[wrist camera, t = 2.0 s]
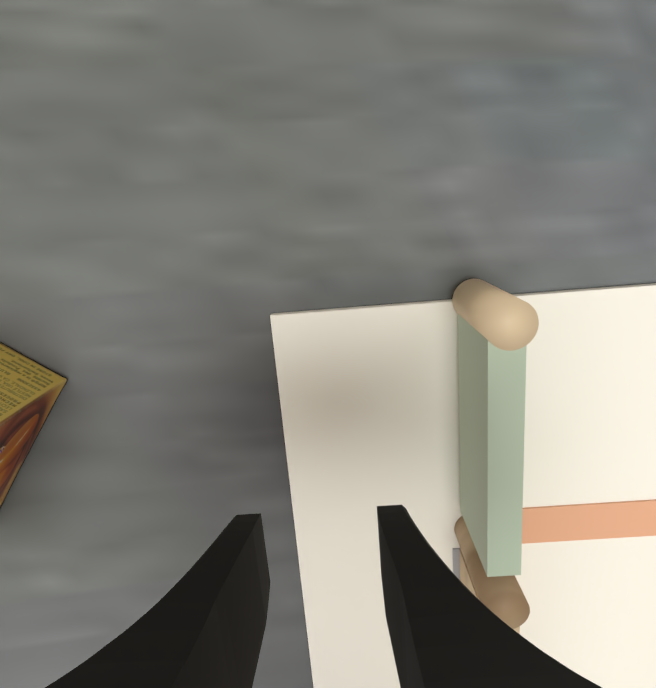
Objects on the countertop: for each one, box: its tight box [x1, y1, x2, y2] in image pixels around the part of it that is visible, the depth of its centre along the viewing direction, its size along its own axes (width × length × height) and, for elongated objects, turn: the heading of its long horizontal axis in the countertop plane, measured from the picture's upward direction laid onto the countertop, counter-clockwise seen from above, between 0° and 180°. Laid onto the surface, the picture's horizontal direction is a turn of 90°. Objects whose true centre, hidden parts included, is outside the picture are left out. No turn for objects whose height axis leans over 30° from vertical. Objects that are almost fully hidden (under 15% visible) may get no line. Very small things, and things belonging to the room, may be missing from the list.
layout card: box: [270, 283, 656, 688], centre depth 23 cm, size 23×20×1 cm
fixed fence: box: [454, 516, 530, 634], centre depth 21 cm, size 12×2×5 cm, turn 5°
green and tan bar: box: [452, 279, 539, 577], centre depth 18 cm, size 10×2×4 cm, turn 5°
